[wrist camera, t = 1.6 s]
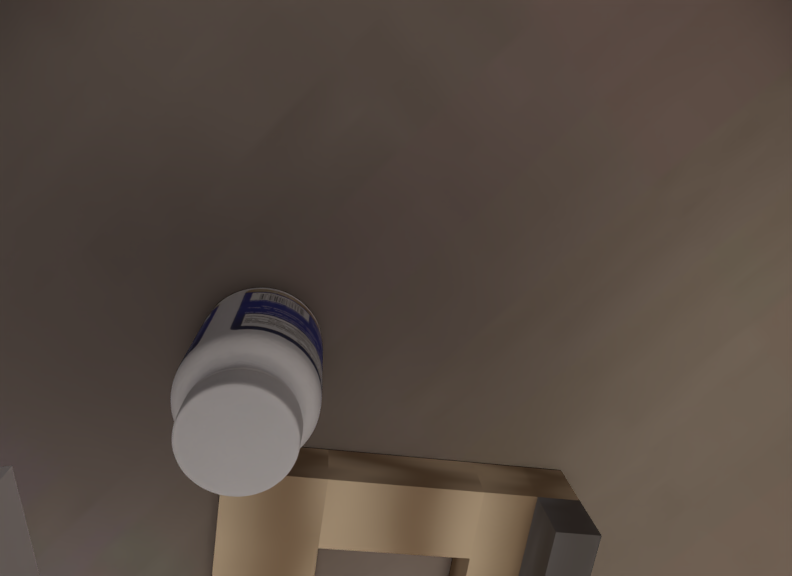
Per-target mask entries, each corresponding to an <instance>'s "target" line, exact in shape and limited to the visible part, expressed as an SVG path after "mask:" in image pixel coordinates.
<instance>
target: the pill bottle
mask: <svg viewBox="0 0 792 576" xmlns="http://www.w3.org/2000/svg"><path fill="white" fill-rule="evenodd" d="M322 360H323V343H322V334H321V330H320V327H319V325H318V322H317V320H316V318H315V317H314V315H313V314H312V312H311V311H310V310H309V309H308V307H307V306H306V305H305V304H303V303H302V302H301V301H300V300H299V299H297V298H296V297H294V296H292V295H290V294H288V293H286V292H283V291H280V290H277V289H272V288H251V289H246V290H242V291H239V292H236V293H234V294H232V295H230V296H228V297H226V298H225V299H223V300H222V301H221V302H220V303H218V305H217V306H216V307H215V308H214V309H213V310H212V311H211V313H210V314H209V315H208V317H207V318H206V320H205V321H204V323H203V325H202V327H201V329H200V330H199V332H198V334H197V336H196V337H195V339H194V341H193V343H192V344H191V346H190V348H189V350H188V352H187V353H186V355H185V357H184V358H183V360H182V362H181V364H180V366H179V368H178V369H177V372H176V375H175V378H174V380H173V384H172V389H171V397H170V400H171V412H172V416H173V419H174V425H173V429H172V449H173V453H174V456H175V458H176V461H177V463H178V465H179V467H180V468H181V470H182V471H183V472H184V473H185V475H186V476H187V477H188V478H189V479H190V480H192V481H193V482H194V483H195V484H197V485H198V486H200V487H201V488H203V489H206V490H208V491H210V492H213V493H216V494H219V495H224V496H233V497H242V496H250V495H254V494H258V493H261V492H264V491H266V490H268V489H270V488H272V487H273V486H275V485H276V484H278V483H279V482H280V481H281V480H282V479H283V478H284V477H285V476H286V475H287V474H288V473H289V472H290V471H291V469H292V467H293V466H294V464H295V462H296V460H297V457H298V454H299V451H300V448H301V447H302V446H303V445H304V444H305V443H306V441H307V440H308V439H309V437H310V436H311V434H312V433H313V431H314V429H315V427H316V425H317V422H318V419H319V415H320V410H321V402H322Z"/></svg>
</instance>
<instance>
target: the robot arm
mask: <svg viewBox="0 0 792 576" xmlns="http://www.w3.org/2000/svg"><path fill="white" fill-rule="evenodd" d="M0 576H40V574H39V570H38V566H37V562H36V558H35V554H34V550H33V546H32V542H31V538H30V534H29V531H28V527H27V523H26V519H25V515H24V511H23V507H22V503H21V499H20V495H19V491H18V487H17V483H16V479H15V475H14V471H13V468H12V466H3V467H0Z"/></svg>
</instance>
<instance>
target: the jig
mask: <svg viewBox="0 0 792 576" xmlns="http://www.w3.org/2000/svg"><path fill="white" fill-rule="evenodd" d="M600 539H601V534H600V533H599V531H598V529H597V528H596V526H595V525H594V523H593V521H592V520H591V518H590V517H589V515H588V513H587V512H586V510H585V509H584V507H583V505H582V504H581V502H580V500H579V499H578V497H577V496H576V494H575V492H574V491H573V489H572V488H571V486H570V484H569V483H568V481H567V480H566V478H565V476H564V475H563V473H562V472H561V470H550V469H538V468H527V467H516V466H505V465H494V464H483V463H472V462H461V461H449V460H438V459H427V458H416V457H405V456H394V455H383V454H371V453H360V452H349V451H338V450H327V449H316V448H305V447H301V448H300V451H299V454H298V457H297V460H296V462H295V464H294V466H293V467H292V469H291V471H290V472H289V473H288V474H287V475H286V476H285V477H284V478H283V479H282V480H281V481H280V482H279V483H278V484H276V485H275V486H273V487H272V488H270V489H268V490H266V491H264V492H261V493H258V494H254V495H250V496H242V497H233V496H224V495H220V498H219V508H218V518H217V529H216V539H215V550H214V560H213V571H212V576H314V574H315V567H316V560H317V553H318V548H323V549H338V550H352V551H367V552H381V553H396V554H410V555H424V556H439V557H453V559H452V563H451V568H450V573H449V576H591V572H592V568H593V565H594V561H595V557H596V554H597V550H598V547H599V543H600Z"/></svg>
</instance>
